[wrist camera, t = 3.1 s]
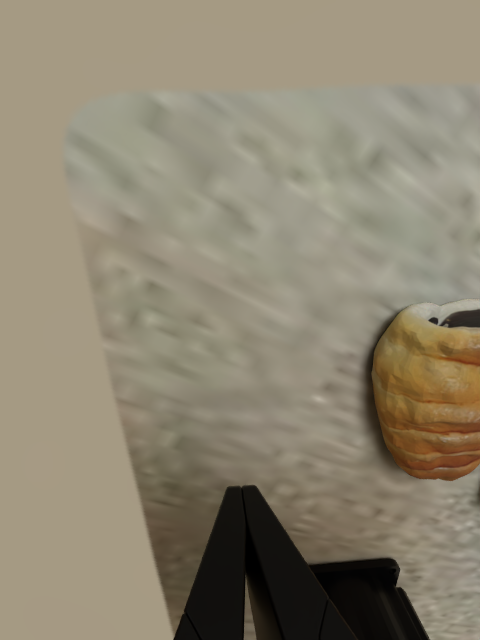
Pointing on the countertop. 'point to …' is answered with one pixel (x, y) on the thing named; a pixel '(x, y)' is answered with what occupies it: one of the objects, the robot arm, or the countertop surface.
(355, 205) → the countertop surface
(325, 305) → the countertop surface
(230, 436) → the countertop surface
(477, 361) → the pastry
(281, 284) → the countertop surface
